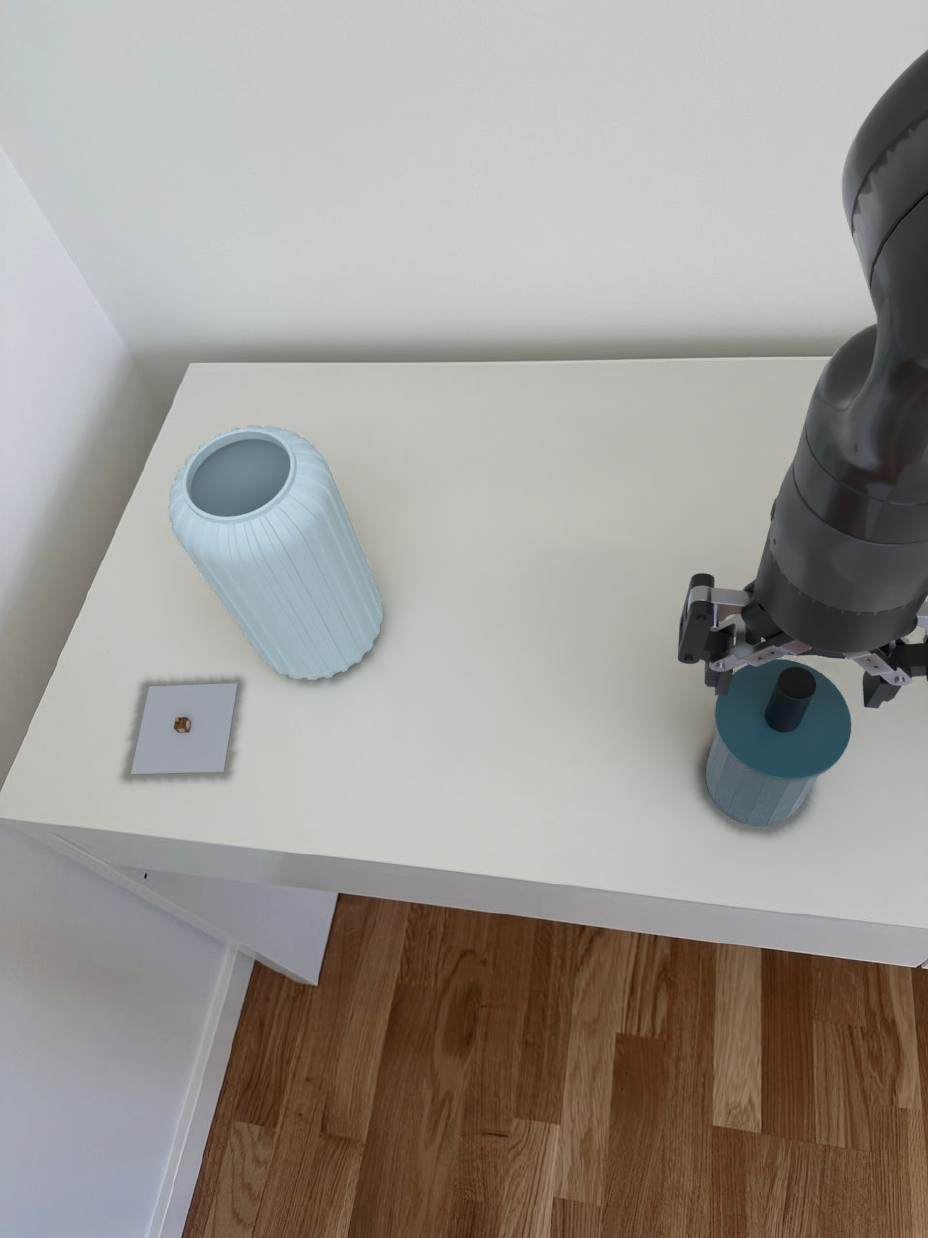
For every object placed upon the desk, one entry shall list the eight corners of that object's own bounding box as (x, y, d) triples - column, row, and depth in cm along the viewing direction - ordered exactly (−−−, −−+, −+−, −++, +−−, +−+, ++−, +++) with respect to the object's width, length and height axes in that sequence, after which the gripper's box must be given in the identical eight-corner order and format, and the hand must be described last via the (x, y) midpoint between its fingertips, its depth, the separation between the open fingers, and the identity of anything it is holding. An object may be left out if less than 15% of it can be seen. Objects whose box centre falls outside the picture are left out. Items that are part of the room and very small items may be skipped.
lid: (843, 671, 60) (867, 626, 55) (850, 792, 57) (876, 755, 51) (714, 662, 62) (725, 617, 57) (712, 778, 58) (723, 742, 53)
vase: (321, 717, 76) (227, 575, 57) (234, 641, 81) (120, 486, 62) (416, 622, 79) (357, 458, 60) (327, 555, 84) (246, 382, 65)
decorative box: (223, 771, 75) (215, 763, 73) (130, 774, 76) (120, 766, 74) (237, 683, 79) (230, 673, 77) (149, 686, 80) (139, 676, 78)
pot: (804, 739, 70) (838, 672, 60) (806, 831, 66) (842, 777, 56) (706, 730, 71) (724, 664, 61) (704, 820, 68) (722, 766, 58)
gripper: (691, 597, 41) (670, 734, 55) (1043, 620, 38) (926, 758, 52) (697, 464, 44) (676, 624, 58) (1020, 475, 41) (916, 641, 55)
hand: (794, 687), depth 55 cm, fingers open, 8 cm apart
